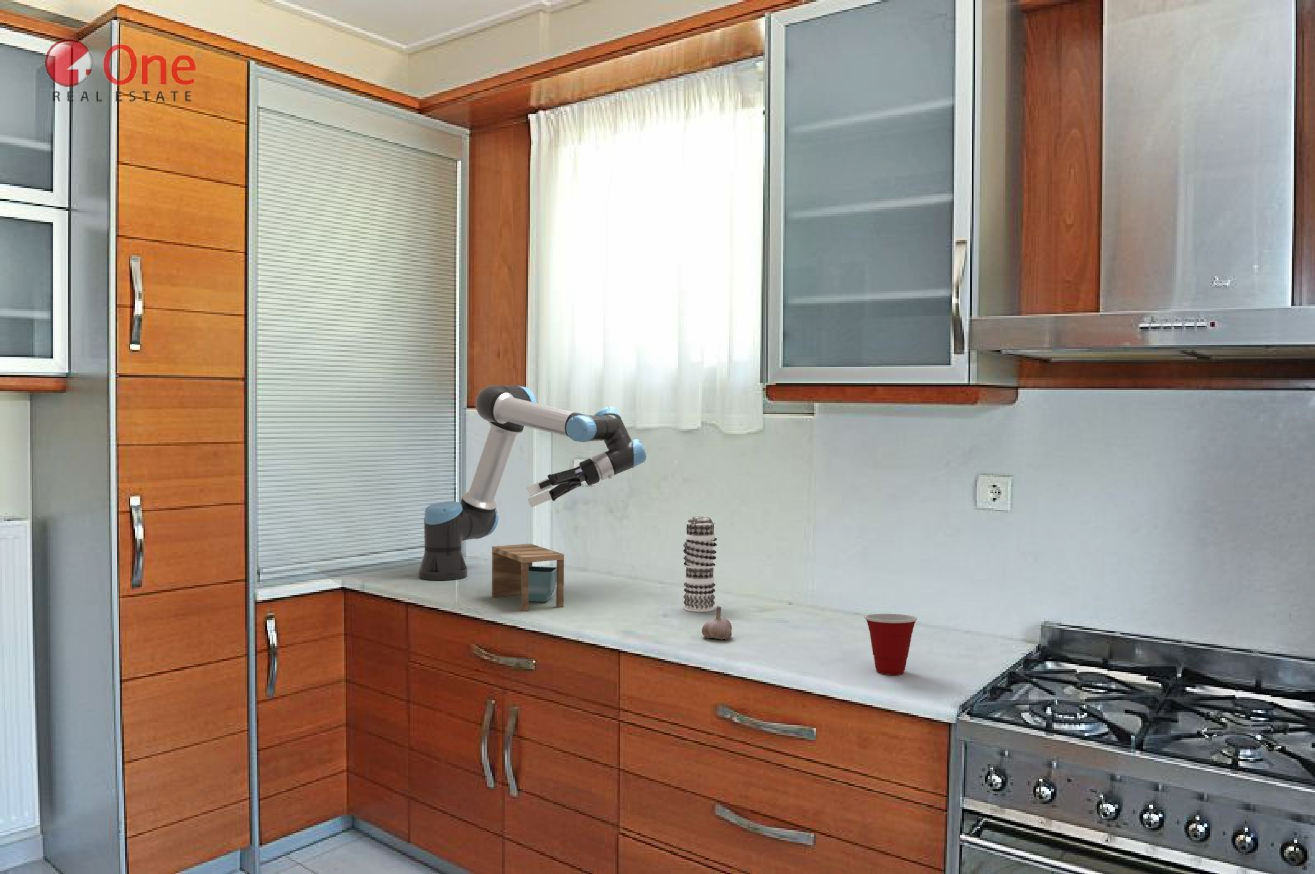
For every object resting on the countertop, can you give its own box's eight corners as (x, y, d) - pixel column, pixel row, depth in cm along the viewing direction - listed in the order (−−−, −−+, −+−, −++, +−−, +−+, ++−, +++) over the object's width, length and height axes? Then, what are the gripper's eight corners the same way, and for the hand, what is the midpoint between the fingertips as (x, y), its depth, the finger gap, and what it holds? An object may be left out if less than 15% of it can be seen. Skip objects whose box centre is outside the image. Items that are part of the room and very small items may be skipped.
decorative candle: (721, 610, 264) (722, 518, 263) (689, 612, 261) (690, 519, 260) (708, 604, 272) (709, 515, 272) (677, 606, 269) (678, 516, 269)
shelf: (491, 596, 280) (492, 546, 280) (530, 592, 286) (530, 543, 286) (523, 611, 261) (523, 557, 260) (563, 606, 267) (564, 554, 267)
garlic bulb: (736, 641, 230) (736, 608, 230) (706, 642, 229) (706, 609, 229) (727, 634, 238) (727, 601, 237) (698, 635, 236) (698, 602, 236)
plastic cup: (903, 663, 211) (904, 609, 211) (924, 677, 201) (926, 620, 200) (855, 665, 210) (856, 610, 209) (874, 679, 199) (875, 621, 199)
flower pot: (558, 597, 280) (558, 566, 279) (552, 603, 271) (552, 571, 271) (528, 596, 280) (528, 565, 280) (520, 603, 272) (521, 570, 271)
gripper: (603, 469, 275) (533, 498, 271) (599, 491, 299) (534, 518, 294) (592, 445, 277) (522, 474, 272) (589, 469, 301) (525, 496, 296)
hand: (529, 497), depth 283 cm, fingers open, 13 cm apart
